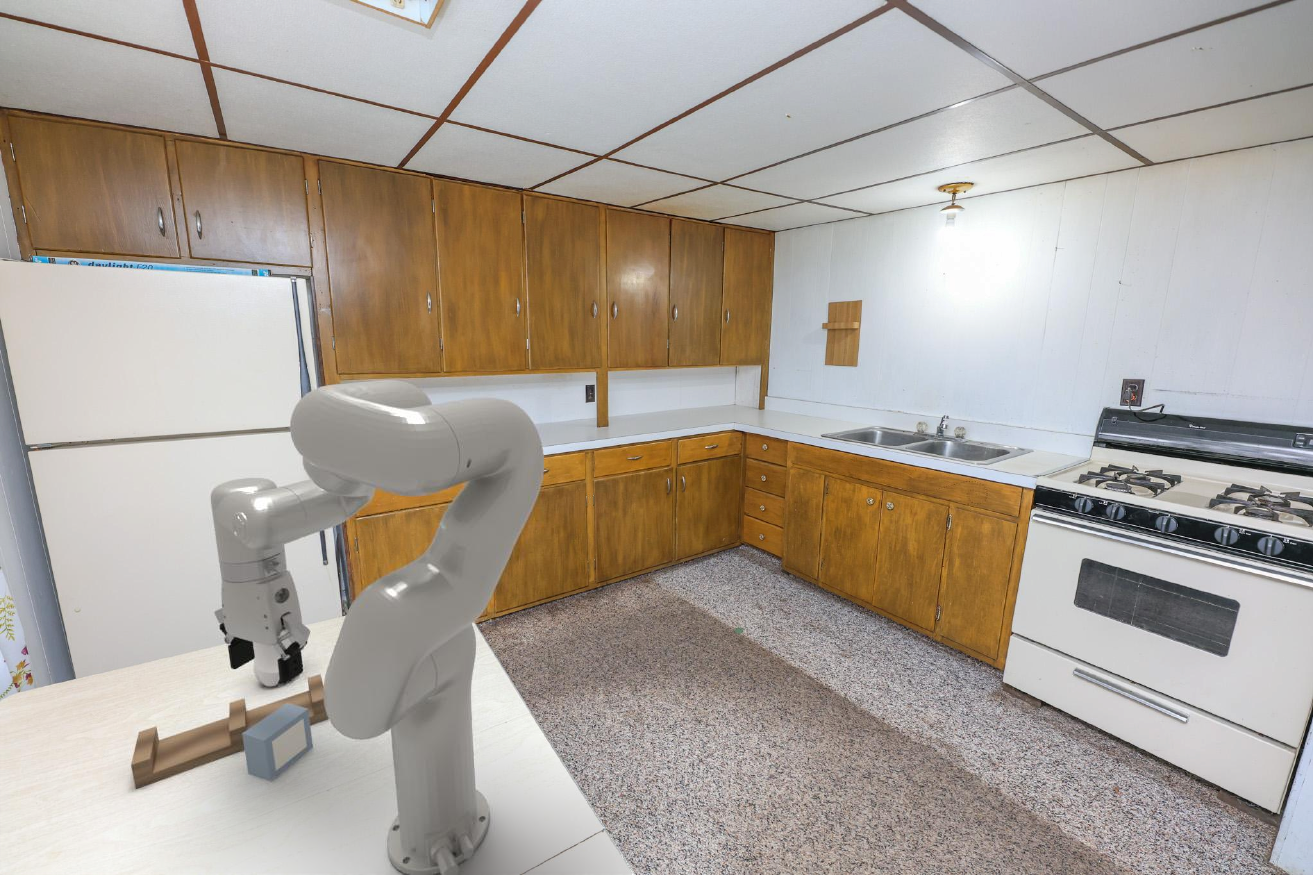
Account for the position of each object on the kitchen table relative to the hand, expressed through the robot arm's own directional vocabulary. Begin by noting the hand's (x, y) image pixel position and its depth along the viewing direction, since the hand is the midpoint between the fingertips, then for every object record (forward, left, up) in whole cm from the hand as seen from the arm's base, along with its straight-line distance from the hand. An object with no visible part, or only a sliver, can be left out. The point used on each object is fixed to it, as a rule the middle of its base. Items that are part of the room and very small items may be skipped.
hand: (267, 670), depth 80 cm
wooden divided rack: (+10, +5, -15) cm, 19 cm away
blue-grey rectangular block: (0, 0, -15) cm, 15 cm away
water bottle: (+24, -1, -16) cm, 28 cm away
